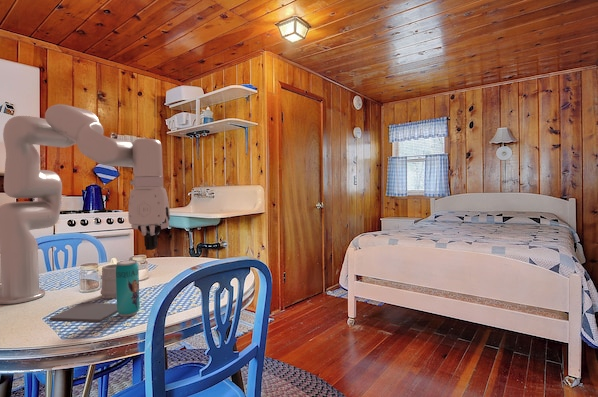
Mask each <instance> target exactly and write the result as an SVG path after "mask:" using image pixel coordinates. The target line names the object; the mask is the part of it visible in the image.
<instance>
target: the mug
mask: <svg viewBox="0 0 598 397" xmlns="http://www.w3.org/2000/svg"><path fill="white" fill-rule="evenodd" d="M128 260H134V258H133V256H130V257H129V258H128ZM116 267H117V263H114V264H113V263H111V264H108V265H104V266H102V267H101V276H100V279H101V290H100V295H101V298H102V299H106V300H107V299H117V293H116Z"/></svg>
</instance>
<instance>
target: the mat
mask: <svg viewBox="0 0 598 397" xmlns="http://www.w3.org/2000/svg"><path fill="white" fill-rule="evenodd" d="M117 313H118V311H117V303H110V302H109V303H107V302H106V303H103V302H81V303H79V304H77V305H75V306H73V307H71V308H68V309H66V310H64V311H62V312H59V313H57V314H55V315H53V316H51V317H50V318H49V320H50V321H66V322H67V321H70V322H71V321H72V322H73V321H74V322H95V323H99V322H100V323H101V322H103V321H105V320H106V319H108V318H110V317H112V316H114V315H116V314H117Z"/></svg>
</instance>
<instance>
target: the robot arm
mask: <svg viewBox="0 0 598 397" xmlns="http://www.w3.org/2000/svg"><path fill="white" fill-rule="evenodd" d="M2 131H3V133H2V137H3V144H4V148H5V149H4V150H5V162H4V176H3V191H4V193H5V195H6V196H8V197H10V198H14V199H37V201H33V200H32V201H13V202H7V203H4V204H2V205H0V278H1V280H0V281H1V284H0V305H12V304H13V305H14V304H20V303H25V302H29V301H34V300H37V299H40V298H42V297H44V296H45V295H46V290H45V289H42V288H40V275H39V274H40V272H39V271H40V270H39V267H40V266H39V244H38V241H37V239H36V238H35V236H34V235H33V234H32V233H31V231H33V230H40V229H41V230H42V229H48V228H52V227H54V226H55V225H56V224H57V223H58V221H59V219H60V216H61V215H60V214H61V213H60V212H61V207H62V205H61V204H62V197H63V196H62V195H63V183H62V179H61V177H60V175H59V174H58V173H56V172H55V171H52V170H49V169H48V170H47V169H40V162H41V157H40V154H39V152H38V150H37V148H36V147H35V146H34V145H37V146H45V147H53V148H68V147H72V146H75V145H76V146H77V149H78V151H79V152H80V153H81V154H82V155H83V156H85V157H86V158H89V159H90V160H92V161H93V162H96V163H97V164H100V165H102V166H108V167H123V168H132V169H133V171H132V174H133V178H132V179H133V180H129V185H131V186H133V188H132V189H130V193H129V199H128V212H127V213H128V223H129V224H130V225H131V226H130V227H131V229H134V230H138V231H140V233H141V235H142V236H143V238H144V247H145V250H146V251H152V250H153V251H154V250H155V249H157V248H158V244H159V242H158V235H159V234H160V232H161V231H162V230H163V229H167V228H169V227H170V221H171V220H170V219H171V214H170V213H171V212H170V204H169V203H170V202H169V197H168V193H167V190H166V188H164V173H163V172H164V170H163V169H164V168H163V166H164V164H163V147H162V143H161V141H160V140H158V139H156V138H155V139H154V138H137V139H134V140H133V141H131V140H126V139H121V138H113V137H108V136H106V135H104V127H103V125H102V124H101V122H100V120H99V118H98V116H97V115H96V114H95V113H94V112H92V111H91V110H90V109H89V110H88V109H85V108H80V107H76V106H72V105H67V104H54V105H51V106H49V107H48V108H47V109H46V111H45V113H44V118H43V117H37V116H33V115H32V116H30V115H16V116H13V117H11V118H9V119H8V120H7V121H6V123H5V124H4V127H3V130H2Z"/></svg>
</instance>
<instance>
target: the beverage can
mask: <svg viewBox="0 0 598 397" xmlns="http://www.w3.org/2000/svg"><path fill="white" fill-rule="evenodd" d="M116 264H117V267H116V293H117V298H116V304H117V311H118V312H117V313H118V315H119V316H120V317H121V318H127V317H129V318H130V317H132V316H135V315H137V314H138V312H139V309H140V279H139V278H140V277H139V276H140V275H139V274H140V272H139V264H138V260H135V259H133V260H129V259H125V260H120V261H118V262H116Z"/></svg>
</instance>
